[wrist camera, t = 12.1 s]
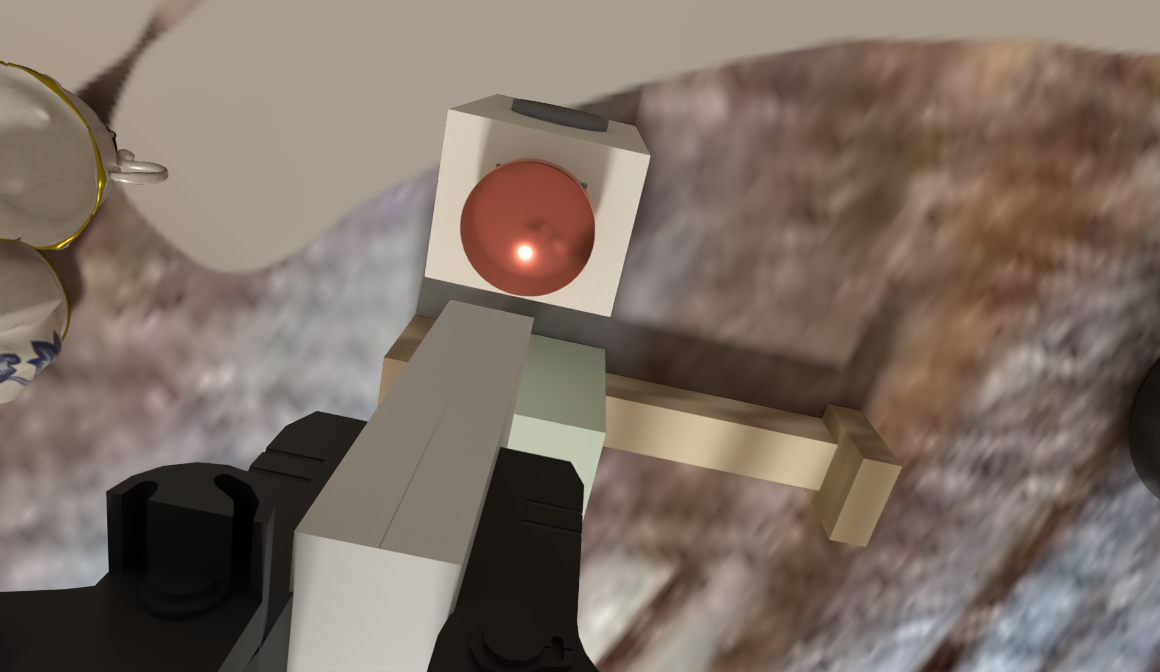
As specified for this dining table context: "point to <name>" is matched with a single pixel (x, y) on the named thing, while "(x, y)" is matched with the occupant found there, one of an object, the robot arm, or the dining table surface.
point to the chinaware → (46, 210)
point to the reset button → (528, 227)
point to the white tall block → (559, 135)
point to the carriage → (562, 405)
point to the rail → (738, 441)
